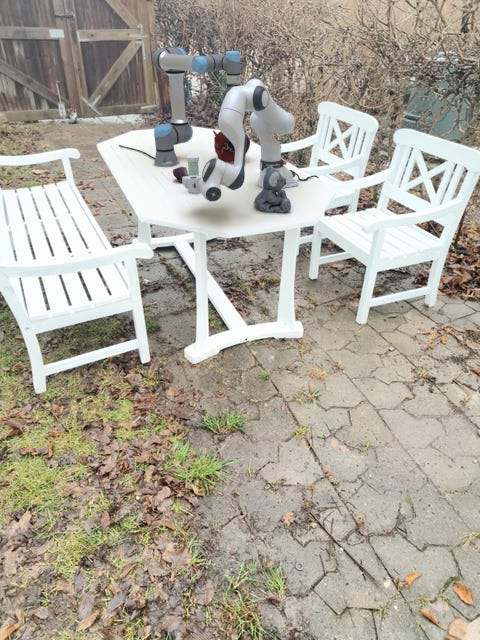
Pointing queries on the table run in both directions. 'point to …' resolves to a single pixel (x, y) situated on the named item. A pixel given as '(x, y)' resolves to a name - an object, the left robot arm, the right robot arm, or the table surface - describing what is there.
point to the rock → (180, 173)
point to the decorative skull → (226, 147)
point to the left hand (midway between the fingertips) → (234, 125)
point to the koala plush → (273, 193)
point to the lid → (192, 158)
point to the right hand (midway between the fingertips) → (200, 175)
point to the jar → (193, 169)
